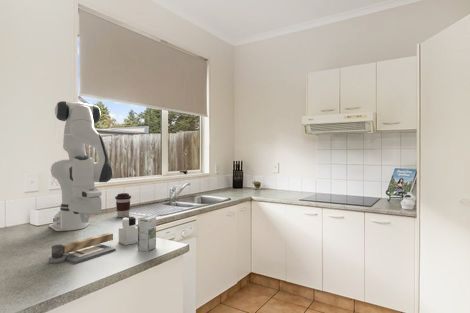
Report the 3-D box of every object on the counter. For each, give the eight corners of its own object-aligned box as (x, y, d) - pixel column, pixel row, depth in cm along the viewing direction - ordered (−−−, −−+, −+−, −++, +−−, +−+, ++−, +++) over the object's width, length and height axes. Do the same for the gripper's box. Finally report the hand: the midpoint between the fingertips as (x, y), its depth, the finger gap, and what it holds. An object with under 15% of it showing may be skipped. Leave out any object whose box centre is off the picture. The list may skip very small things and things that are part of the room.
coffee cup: (126, 218, 191) (126, 195, 191) (112, 217, 193) (112, 194, 193) (133, 214, 201) (133, 193, 201) (120, 214, 203) (120, 192, 202)
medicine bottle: (131, 239, 147) (131, 215, 146) (139, 241, 142) (139, 217, 142) (118, 242, 141) (118, 217, 141) (126, 245, 137) (126, 219, 136)
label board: (40, 259, 119) (40, 255, 119) (94, 244, 138) (94, 241, 138) (61, 268, 110) (61, 264, 110) (115, 250, 130) (115, 247, 130)
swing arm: (54, 258, 115) (54, 248, 115) (49, 256, 117) (49, 246, 117) (113, 241, 137) (113, 232, 137) (108, 239, 139) (108, 231, 139)
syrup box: (145, 246, 136) (145, 215, 135) (156, 247, 133) (156, 216, 133) (137, 250, 130) (137, 217, 130) (148, 252, 128) (148, 218, 128)
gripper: (64, 191, 135) (65, 221, 135) (90, 193, 124) (91, 226, 124) (77, 189, 140) (78, 218, 140) (103, 192, 129) (104, 223, 129)
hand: (84, 222), depth 132 cm, fingers closed
